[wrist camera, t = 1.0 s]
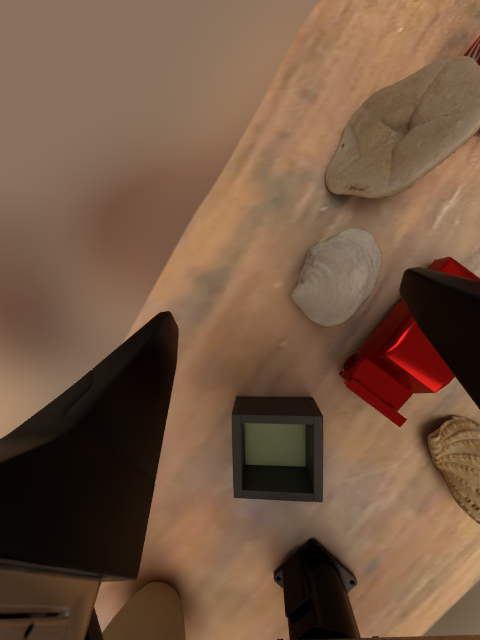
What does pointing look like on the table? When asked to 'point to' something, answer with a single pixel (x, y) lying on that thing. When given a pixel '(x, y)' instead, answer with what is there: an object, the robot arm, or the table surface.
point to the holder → (277, 449)
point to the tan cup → (149, 616)
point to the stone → (407, 130)
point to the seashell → (459, 461)
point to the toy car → (399, 358)
